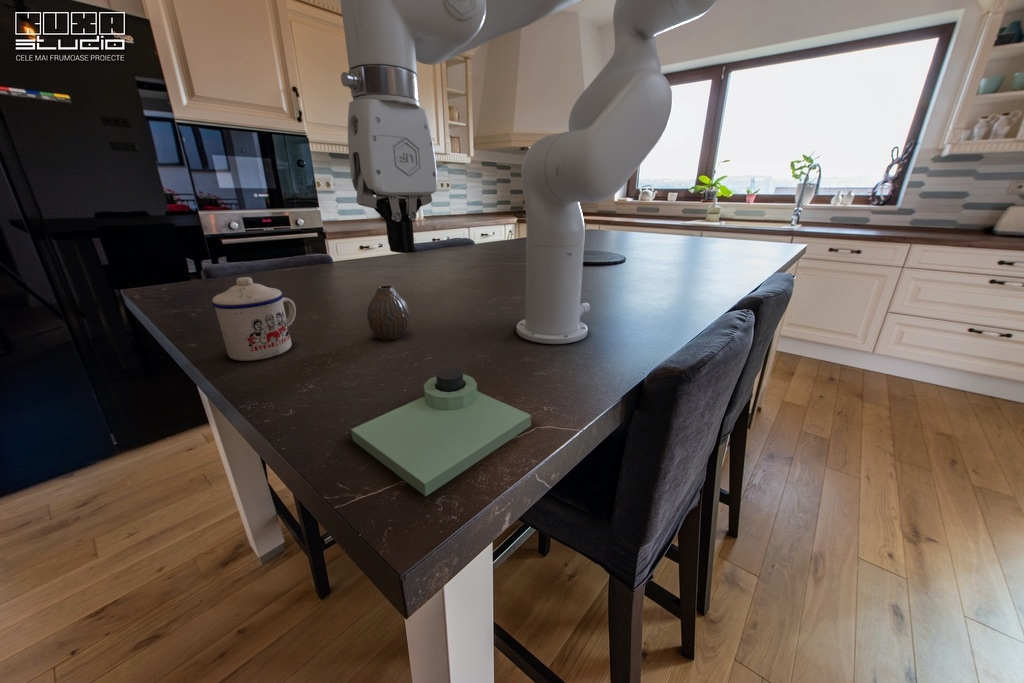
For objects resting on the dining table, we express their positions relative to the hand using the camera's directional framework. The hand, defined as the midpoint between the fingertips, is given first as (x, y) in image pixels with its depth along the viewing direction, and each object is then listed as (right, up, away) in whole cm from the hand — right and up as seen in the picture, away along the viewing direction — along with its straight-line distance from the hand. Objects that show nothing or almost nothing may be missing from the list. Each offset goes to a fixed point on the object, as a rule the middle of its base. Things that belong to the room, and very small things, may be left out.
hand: (402, 251), depth 53 cm
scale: (+8, -22, -12) cm, 26 cm away
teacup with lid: (-25, -13, +11) cm, 30 cm away
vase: (-6, -11, +16) cm, 21 cm away
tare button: (+8, -17, -8) cm, 20 cm away
